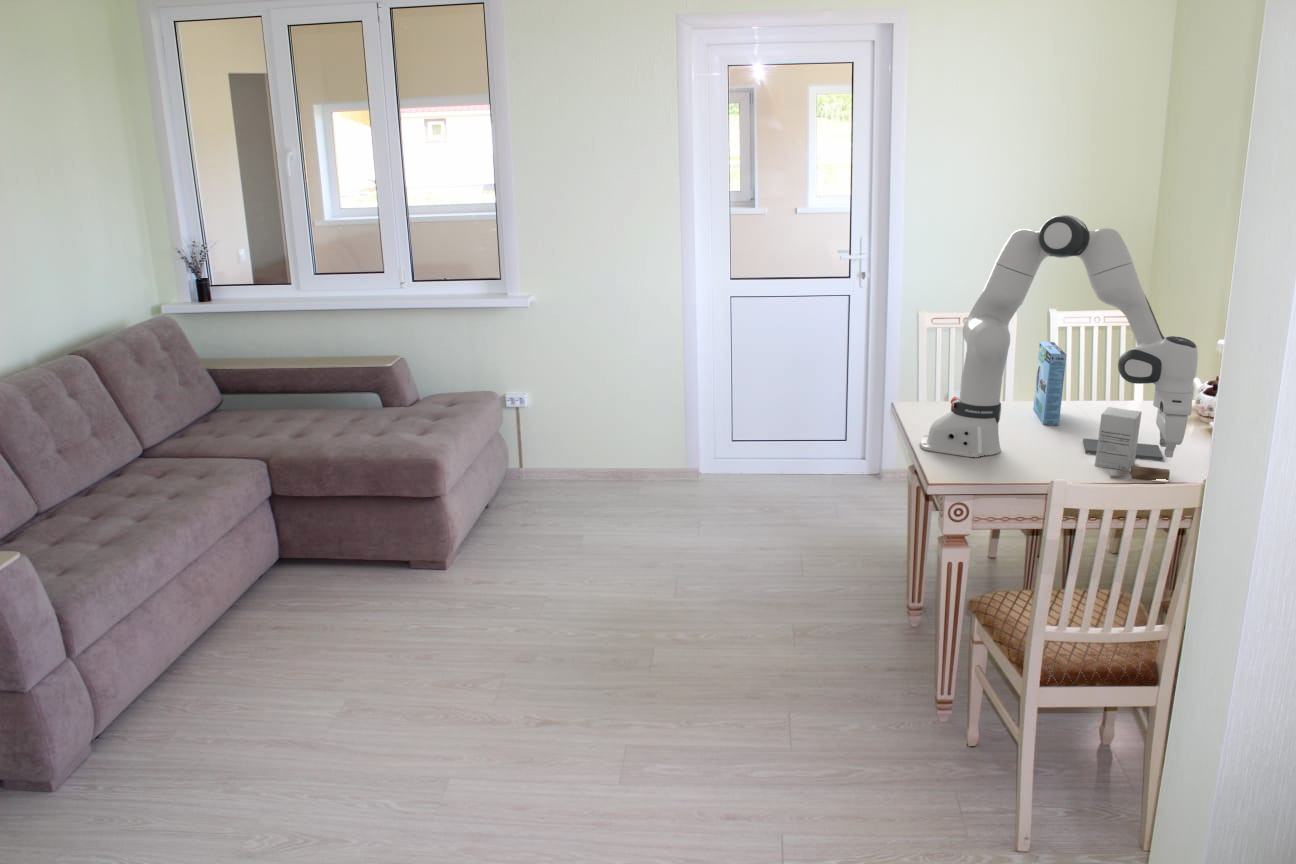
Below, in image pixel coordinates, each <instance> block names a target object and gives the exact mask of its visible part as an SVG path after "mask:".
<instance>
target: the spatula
mask: <svg viewBox="0 0 1296 864" xmlns="http://www.w3.org/2000/svg"><path fill="white" fill-rule="evenodd" d="M1108 469H1109V470H1108V474H1109V478H1110V479H1116V480H1125V481H1132V480H1139V481H1148V480H1156V479H1166V480H1169V479H1170V474H1171V471H1170V469H1166V468H1159V467H1157V468H1156V467H1149V466H1147V467H1146V466H1136V465H1133V466H1131V469H1130V470H1129V471H1125V470H1119V469H1113V468H1108Z"/></svg>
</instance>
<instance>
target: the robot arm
mask: <svg viewBox="0 0 1296 864" xmlns="http://www.w3.org/2000/svg"><path fill="white" fill-rule="evenodd" d="M1047 257H1055V258H1058V259H1059V258H1060V259H1065V258H1070V257H1077V258H1079V259H1080V260H1081V262H1082V263H1083V266H1084V267H1085V270H1086V274H1087V277H1088V280H1089V283H1090V286H1091V288H1092V291H1093V292H1094V294H1095V295H1096V298H1097V299H1098V300H1099V301H1101V302H1102V303H1103V304H1107V305H1109V306H1112V307H1114V308H1116V309H1117V310H1119V311H1120V312H1121V313H1122V314H1123V315H1124V316H1125V318H1126V320H1127V323H1128V325H1129V327H1130V329H1131V332H1132V333H1133V336H1134V339H1135V341H1136V346H1135V347H1133V348H1129V349H1128V350H1126V351H1125V352H1124V353H1122V354H1121V356H1120V357H1119V359H1118V362H1117V369H1118V372H1119V375H1120V376H1121V377H1122V379H1124V380H1125V382H1128V383H1130V384H1138V385H1140V384H1141V385H1142V384H1154V385H1155V386H1154V387H1155V388H1154V392H1153V393H1154V394H1153V402H1152V405H1153V406H1154V407H1155V408H1157V413H1156V420H1155V423H1156V426H1157V428H1158V430H1159V447H1162V448H1165V449H1164V456H1165V458H1173V457H1174V452H1175V449H1176V447H1177V446H1180V445H1181V444H1183V441H1184V437H1185V433H1186V431H1187V430H1186V429H1187V424H1188V420H1189V417H1188V416H1191V415H1192V411H1193V410H1192V406H1193V405H1192V404H1193V398H1194V391H1195V387H1194V380H1195V378H1196V375H1197V368H1198V359H1199V358H1198V346H1197V345H1196V343H1195V342H1193V341H1192V340H1190V339H1188V338H1185V337H1181V336H1173V335H1172V336H1166V337H1165V336H1164V334H1163V333H1162V331H1161V329H1160V326H1159V324H1158V322H1157V319H1156V317H1155V314H1154V312H1153V309H1152V307H1151V305H1150V303H1149V300H1148V298H1147V296H1146V294H1145V292H1144V289H1143V287H1142V285H1141V282H1140V279H1139V276H1138V274H1137V270H1136V268H1135V265H1134V264H1135V263H1133V258H1132V256H1131V254H1130V251H1129V249H1128V247H1127V245H1126V244H1125V241H1124V239H1123V237H1122V236H1121V233H1119V231H1117V230H1116V229H1114V228H1110V227H1109V228H1107V227H1105V228H1099V229H1096V230H1093V231H1092V230H1089V229H1088V227H1087V225H1086V224H1085V223H1084V221H1082V220H1080V218H1077V217H1076V216H1073V215H1066V214H1065V215H1064V214H1063V215H1055V216H1053V217H1050V218H1049V219H1047V220H1046V221H1044V223H1043V224H1042V226H1041V227H1040V229H1039V230H1038V231H1036V230H1032V229H1026V228H1025V229H1024V228H1023V229H1018V230H1015V231H1014V232H1012V233H1011V234H1010V236H1009V237H1008V239H1007V241H1006V242H1005V243H1004V245H1003V247H1002V249H1001V250H1000V252H999V254H998V256H997V259H996V260H995V263H994V265H993V267H992V269H991V271H990V274H989V276H988V278H987V281H986V283H985V286H984V287H983V290H982V291H981V293H980V295H979V297H978V298H977V300H976V302H975V303H974V305H973V307H972V309H971V310H970V312H969V314H968V317H967V319H966V320H965V322H964V323H963V325H962V326H963V327H962V336H963V339H964V342H966V353H965V359H964V363H963V368H962V372H961V379H960V389H959V398H957V397H954V396H953V397H952V398H951V399H950V404H951V406H950V411H949V412H948V413H946V414H945V415H942V416H941V417H940V418H938V419H936V420H934V421H933V423H932V424H931V426H930V428H929V431H928V434H926V435H924V436H922V438H920V441H919V446H920V448H921V449H922V450H924V451H928V452H937V453H941V454H948V455H954V456H960V457H961V456H962V457H967V458H973V457H974V459H975V458H980V456H981V457H984V455H985V456H992V455H996V454H999V453H1000V452H1001V451H1002V449H1001V444H1000V437H999V422H1000V420H1001V414H1002V403H1001V402H1000V400H1001V393H1002V383H1003V375H1004V371H1005V366H1006V364H1007V359H1008V358H1007V357H1008V356H1009V355H1008V353H1009V348H1010V344H1011V333H1010V330H1009V328H1008V325H1009V324H1010V322H1011V320H1012V319H1013V317H1014V316H1015V314H1016V313H1017V310H1018V309H1019V308H1020V307H1021V306H1022V305H1023V303H1024V301H1025V299H1026V296H1027V294H1028V293H1029V290H1030V288H1031V285H1032V283H1033V281H1034V279H1035V276H1036V275H1037V272H1038V269H1039V268H1040V266H1041V264H1042V263H1043V261H1044V260H1045V259H1047Z"/></svg>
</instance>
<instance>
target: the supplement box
mask: <svg viewBox="0 0 1296 864" xmlns="http://www.w3.org/2000/svg"><path fill="white" fill-rule="evenodd" d="M1142 414H1143V412H1142V411H1140V410H1131V409H1124V408H1119V407H1118V408H1117V407H1110V406H1108V407H1107V408H1106V409H1105V410H1104V411H1103V412H1102V413H1101V415H1100V417H1101V418H1100V423H1099V431H1098V438H1097V440H1098V444H1097V452H1096V454H1095V462H1094V466H1096V467H1101V468H1108V469H1112V470H1122V471H1131V466H1134V464H1135V463H1136V458H1135V456H1136V449H1137V443H1138V442H1139V441H1138V440H1139V433H1140V427H1141V426H1140V425H1141V419H1142Z"/></svg>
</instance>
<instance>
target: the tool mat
mask: <svg viewBox="0 0 1296 864" xmlns="http://www.w3.org/2000/svg"><path fill="white" fill-rule="evenodd" d="M1082 443H1083V450H1084V453H1085V454H1088V453H1090V455H1096V452H1097V444H1098V439H1095V438H1094V439H1093V438H1083V440H1082ZM1135 459H1140V460H1141V459H1142V460H1151V461H1152V460H1153V461H1161V460H1164V455H1163V453H1162V451H1161V448H1160V445H1158V444H1150V443H1138V442H1137V449H1136V456H1135Z"/></svg>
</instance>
